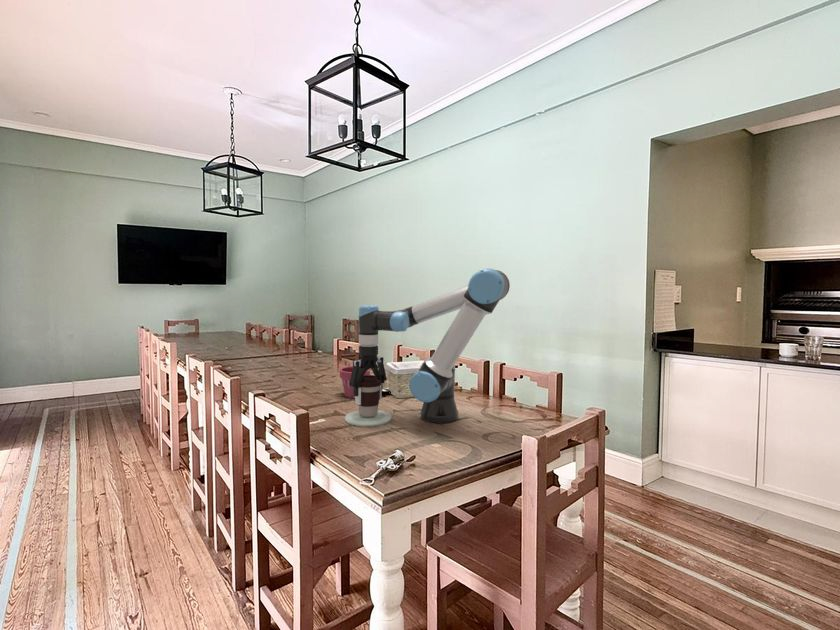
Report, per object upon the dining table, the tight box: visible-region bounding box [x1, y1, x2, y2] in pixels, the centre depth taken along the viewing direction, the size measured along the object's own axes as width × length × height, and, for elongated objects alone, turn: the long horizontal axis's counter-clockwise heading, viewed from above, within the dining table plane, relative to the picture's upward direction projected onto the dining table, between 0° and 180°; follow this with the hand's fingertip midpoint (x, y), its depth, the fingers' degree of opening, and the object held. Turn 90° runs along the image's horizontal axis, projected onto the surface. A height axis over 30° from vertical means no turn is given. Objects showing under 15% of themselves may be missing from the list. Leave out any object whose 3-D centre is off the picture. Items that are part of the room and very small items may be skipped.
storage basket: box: [385, 360, 425, 399], centre depth 215 cm, size 24×16×15 cm
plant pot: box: [339, 365, 371, 399], centre depth 210 cm, size 14×14×13 cm
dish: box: [344, 409, 392, 428], centre depth 175 cm, size 18×18×1 cm
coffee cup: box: [357, 374, 381, 417], centre depth 174 cm, size 10×10×15 cm
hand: (368, 401), depth 174 cm, fingers closed on coffee cup, 10 cm apart
